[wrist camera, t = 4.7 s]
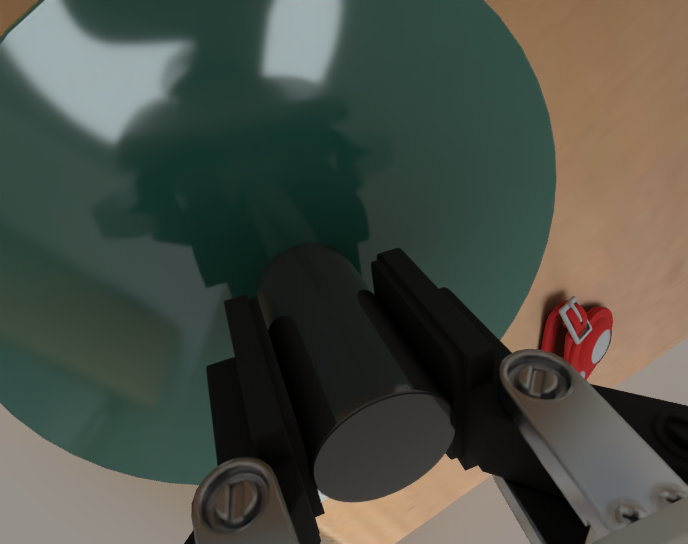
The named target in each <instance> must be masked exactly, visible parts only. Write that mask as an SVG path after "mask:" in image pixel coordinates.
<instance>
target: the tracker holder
mask: <svg viewBox="0 0 688 544" xmlns="http://www.w3.org/2000/svg"><path fill="white" fill-rule="evenodd" d="M560 315H561V317H562V319H563V326H564V327H565V328H567V329H568V332H567V334H566V338H565V345H564V359H565V360H566V361H567V362H568V363H570V364H571V365H572V366H573V367H574V368H575V369H576V370H577V371H578V372H579V373H580V374H581V375H582V376H583V377H584V378H585V380H587V378H588V377H589V375H590V374H591V372H592V371H593V369H594V368H595V366H596V365H597V363H599V362H600V360H601V359H602V358H603V356H604V355H605V353H606V351H607V349H608V347H609V344H610V341H611V335H612V324H613V318H612V313H611V311H610V310H609V309H607V308H603V307H600V306H597V307H593V308H592V309H590V310H589V311H588V312H587V313H586V312H585V310H584V309H583V307H582V306H580V304H579V302H578V300H577V298H576V297H575V296H573V297H572V298H571V299H570V300H567V301H564V302H562V303H560V304H559V305H558V306H556V307H555V308H554V309H553V311H552V312H551V313H550V314H549V316H548V319H547V322H546V325H545V329H544V335H543V341H542V347H541V350H543V351H547V352H551V353H553V354H554V348H555V342H556V335H557V329H558V324H559V317H560Z"/></svg>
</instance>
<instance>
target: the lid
mask: <svg viewBox="0 0 688 544" xmlns="http://www.w3.org/2000/svg"><path fill="white" fill-rule="evenodd" d="M555 190H556V160H555V145H554V139H553V133H552V128H551V122H550V116H549V112H548V109H547V106H546V103H545V100H544V97H543V94H542V91H541V88H540V85H539V82H538V79H537V77H536V75H535V73H534V71H533V69H532V67H531V65H530V63H529V61H528V59H527V57H526V55H525V53H524V51H523V49H522V47H521V46H520V45H519V43H518V42H517V40H516V39H515V38H514V36H513V35H512V33H511V32H510V31H509V29H508V28H507V26H506V25H505V24H504V22H503V21H502V19H501V18H500V17H499V15H498V14H497V13H496V12H495V11H494V10H493V9H492V8H491V7H490V6H489V5H488V4H487V3H486V2H485V1H484V0H38V1H37V2H36V3H35V4H34V5H33V6H32V7H31V8H30V9H29V10H27V11H26V12H25V13H24V14H23V15H22V16H21V17H20V18H19V19H17V20H16V21H15V22H14V23H13V24H12V25H11V26H10V27H9V28H8V29H6V31H5V32H4V33H3V35H2V36H1V37H0V403H1V404H2V405H3V406H4V407H5V408H6V409H7V410H8V411H9V412H10V413H11V414H12V415H13V416H14V417H16V418H17V419H18V420H19V421H21V422H22V423H24V424H25V425H26V426H28V427H29V428H30V429H32V430H33V431H34V432H36V433H37V434H38V435H40V436H41V437H42V438H44V439H46V440H48V441H49V442H51V443H53V444H55V445H57V446H58V447H60V448H62V449H64V450H65V451H67V452H69V453H71V454H73V455H75V456H77V457H80V458H82V459H84V460H87V461H89V462H92V463H94V464H97V465H99V466H101V467H104V468H107V469H110V470H114V471H117V472H121V473H124V474H128V475H131V476H135V477H139V478H145V479H150V480H156V481H161V482H167V483H177V484H190V485H200V484H201V482H202V481H203V479H204V478H205V477H206V476H207V475H208V474H209V473H210V472H211V471H212V470H213V469H214V468H216V467H218V465H217V457H216V449H215V440H214V432H213V424H212V415H211V407H210V398H209V390H208V382H207V373H206V367H207V366H208V365H211V364H214V363H217V362H220V361H223V360H226V359H229V358H232V357H235V355H234V350H233V345H232V340H231V335H230V330H229V326H228V321H227V316H226V311H225V306H224V301H225V300H229V299H232V298H235V297H239V296H242V295H245V294H247V297H248V300H250V299H253V298H256V297H257V298H258V301H259V304H260V307H261V310H262V314H263V317H264V320H265V323H266V326H267V329H268V332H269V336H270V339H271V342H272V345H273V348H274V351H275V354H276V358H277V361H278V364H279V367H280V370H281V373H282V377H283V380H284V383H285V386H286V389H287V392H288V395H289V399H290V402H291V405H292V408H293V411H294V414H295V418H296V421H297V424H298V427H299V430H300V434H301V437H302V440H303V444H304V447H305V450H306V453H307V457H308V460H309V463H310V472H311V477H312V480H313V482H314V485H315V486H316V487H317V489H318V490H319V491H320V492H321V493H322V494H324V495H325V496H327V497H329V498H331V499H334V500H337V501H342V502H363V501H370V500H374V499H378V498H381V497H385V496H387V495H390V494H392V493H395V492H397V491H399V490H401V489H403V488H405V487H407V486H409V485H410V484H412V483H413V482H415V481H416V480H418V479H419V478H421V477H422V476H423V475H425V474H426V473H427V472H428V471H429V470H431V469H432V468H433V467H434V466H435V465H436V464H437V463H438V462H439V460H440V459H441V458H442V457H443V456H444V454H445V453H446V451H447V450H448V448H449V447H450V445H451V443H452V441H453V438H454V436H455V432H456V427H457V417H456V413H455V409H454V407H453V406H452V404H451V402H450V401H449V400H448V398H447V397H446V395H445V394H444V393H443V391H442V390H441V388H440V387H439V385H438V384H437V383H436V381H435V380H434V378H433V377H432V376H431V374H430V373H429V371H428V370H427V369H426V367H425V366H424V364H423V363H422V361H421V360H420V359H419V357H418V356H417V354H416V353H415V352H414V350H413V349H412V347H411V346H410V345H409V343H408V342H407V340H406V339H405V338H404V336H403V335H402V333H401V332H400V330H399V329H398V328H397V326H396V325H395V323H394V322H393V321H392V319H391V318H390V316H389V315H388V314H387V312H386V311H385V309H384V308H383V307H382V305H381V304H380V302H379V301H378V299H377V298H376V297H375V295H374V287H373V279H372V271H371V262H372V261H376V260H377V254H379V253H382V252H385V251H388V250H392V249H395V248H401V249H402V250H403V251H404V252H405V253H406V254H407V255H408V257H409V258H410V259H411V260H412V261H413V262H414V263H415V264H416V265H417V266H418V267H419V268H420V269H421V270H422V271H423V272H424V274H425V275H426V276H427V277H428V278H429V279H430V280H431V281H432V282H433V283H434V284H435V285H436V286H437V287H438V288H442V287H446V288H448V289H449V290H451V291H452V292H453V293H454V294H455V295H456V296H457V297H458V298H459V299H460V300H461V301H462V302H463V303H464V304H465V305H466V307H467V308H468V309H469V310H470V311H471V312H472V313H473V314H474V315H475V316H476V317H477V318H478V319H479V320H480V321H481V322H482V323H483V324H484V325H485V326H486V327H487V328H488V329H489V330H490V331H491V332H492V333H493V334H494V335H495V336H496V337H497V338H498V339H499V340H501V338H502V337H503V335H504V334H505V332H506V331H507V329H508V328H509V326H510V325H511V323H512V322H513V320H514V319H515V317H516V315H517V313H518V312H519V310H520V308H521V306H522V304H523V302H524V301H525V299H526V297H527V295H528V293H529V291H530V288H531V286H532V284H533V281H534V279H535V277H536V274H537V272H538V270H539V267H540V264H541V261H542V257H543V254H544V251H545V248H546V245H547V241H548V237H549V232H550V227H551V222H552V217H553V212H554V202H555Z"/></svg>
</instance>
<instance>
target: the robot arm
mask: <svg viewBox="0 0 688 544" xmlns="http://www.w3.org/2000/svg"><path fill="white" fill-rule="evenodd" d="M371 271H372V279H373V287H374V295H375V297H376V298H377V299H378V301H379V302H380V304H381V305H382V307H383V308H384V309H385V311H386V312H387V314H388V315H389V316H390V318H391V319H392V321H393V322H394V323H395V325H396V326H397V328H398V329H399V330H400V332H401V333H402V335H403V336H404V338H405V339H406V340H407V342H408V343H409V345H410V346H411V347H412V349H413V350H414V352H415V353H416V354H417V356H418V357H419V359H420V360H421V361H422V363H423V364H424V366H425V367H426V369H427V370H428V371H429V373H430V374H431V376H432V377H433V378H434V380H435V381H436V383H437V384H438V385H439V387H440V388H441V390H442V391H443V393H444V394H445V395H446V397H447V398H448V400H449V401H450V402H451V404H452V406H453V407H454V409H455V413H456V417H457V427H456V432H455V436H454V438H453V441H452V443H451V445H450V447H449V448H448V450H447V451H446V454H447V456H448V457H449V458H450V459H455V458H458V460H459V461H460V463H461V465H462V466H463V468H464V469H465V471H466V470H468V469H470V468H473V467H475V466H477V465H479V467H480V468H481V470H482V471H483V472H486V473H490V474H492V476H493V478H494V480H495V483H496V485H497V486H498V488H499V490H500V491H501V493H502V495H503V496H504V498H505V500H506V502H507V503H508V505H509V507H510V509H511V510H512V512H513V514H514V515H515V517H516V519H517V521H518V522H519V524H520V526H521V528H522V529H523V531H524V532H525V534H526V536H527V538H528V539H529V541H530V543H531V544H688V406H686V405H682V404H677V403H673V402H668V401H664V400H659V399H655V398H650V397H646V396H641V395H636V394H633V393H628V392H624V391H619V390H615V389H610V388H606V387H601V386H597V385H592V384H589V383H588V382H587V381H586V380H585V378H584V377H583V376H582V375H581V374H580V373H579V372H578V371H577V370H576V369H575V368H574V367H573V366H572V365H571V364H570V363H568V362H567V361H566V360H565V359H563V358H562V357H559V356H557V355H555V354H553V353H551V352H547V351H543V350H536V349H525V350H519V351H516V352H514V353H511V352H510V351H509V350H508V348H507V347H506V346H505V345H504V344H503V343H502V342H501V341H500V340H499V339H498V338H497V337H496V336H495V335H494V334H493V333H492V332H491V331H490V330H489V329H488V328H487V327H486V326H485V325H484V324H483V323H482V322H481V321H480V320H479V319H478V318H477V317H476V316H475V315H474V314H473V313H472V312H471V311H470V310H469V309H468V308H467V307H466V305H465V304H464V303H463V302H462V301H461V300H460V299H459V298H458V297H457V296H456V295H455V294H454V293H453V292H452V291H451V290H449V289H448V288H446V287H442V288H438V287H437V286H436V285H435V284H434V283H433V282H432V281H431V280H430V279H429V278H428V277H427V276H426V275H425V274H424V272H423V271H422V270H421V269H420V268H419V267H418V266H417V265H416V264H415V263H414V262H413V261H412V260H411V259H410V258H409V257H408V255H407V254H406V253H405V252H404V251H403V250H402V249H401V248H395V249H392V250H388V251H385V252H382V253H379V254H377V260H376V261H372V262H371ZM224 306H225V311H226V316H227V321H228V326H229V330H230V335H231V340H232V345H233V350H234V355H235V357H232V358H229V359H226V360H223V361H220V362H217V363H214V364H211V365H208V366H207V367H206V373H207V382H208V390H209V398H210V407H211V415H212V424H213V432H214V440H215V449H216V457H217V465H218V467H216V468H214V469H213V470H212V471H211V472H210V473H209V474H208V475H207V476H206V477H205V478H204V479H203V481H202V482H201V484H200V485H199V487H198V488H197V490H196V493H195V496H194V499H193V502H192V524H193V532H192V533H191V534H190V536H189V537H188V539H187V540H186V542H185V543H184V544H320V542H321V539H320V536H319V529H318V526H317V523H316V519H315V517H317V516H320V515H322V514H324V513H325V512H324V509H323V506H322V503H321V499H320V496H319V493H318V489H317V487H316V486H315V485H314V482H313V480H312V477H311V472H310V463H309V460H308V457H307V453H306V450H305V447H304V444H303V440H302V437H301V434H300V430H299V427H298V424H297V421H296V418H295V414H294V411H293V408H292V405H291V402H290V399H289V395H288V392H287V389H286V386H285V383H284V380H283V377H282V373H281V370H280V367H279V364H278V361H277V358H276V354H275V351H274V348H273V345H272V342H271V339H270V336H269V332H268V329H267V326H266V323H265V320H264V317H263V314H262V310H261V307H260V304H259V301H258V298H257V297H256V298H253V299H250V300H248V297H247V294H245V295H242V296H239V297H235V298H232V299H229V300H225V301H224Z"/></svg>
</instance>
